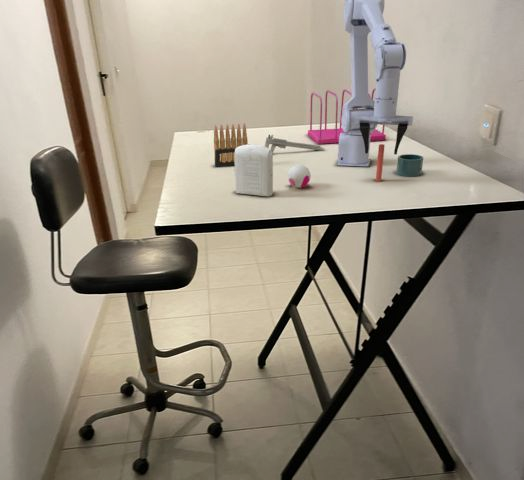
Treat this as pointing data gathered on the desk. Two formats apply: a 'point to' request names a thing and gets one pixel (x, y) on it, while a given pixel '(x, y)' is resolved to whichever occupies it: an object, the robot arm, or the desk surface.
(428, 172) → the desk surface
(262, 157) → the white tall block
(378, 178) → the red cylinder rod
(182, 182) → the desk surface
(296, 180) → the stress ball
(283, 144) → the caliper
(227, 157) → the ammunition clip
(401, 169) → the cup
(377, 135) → the file sorter
